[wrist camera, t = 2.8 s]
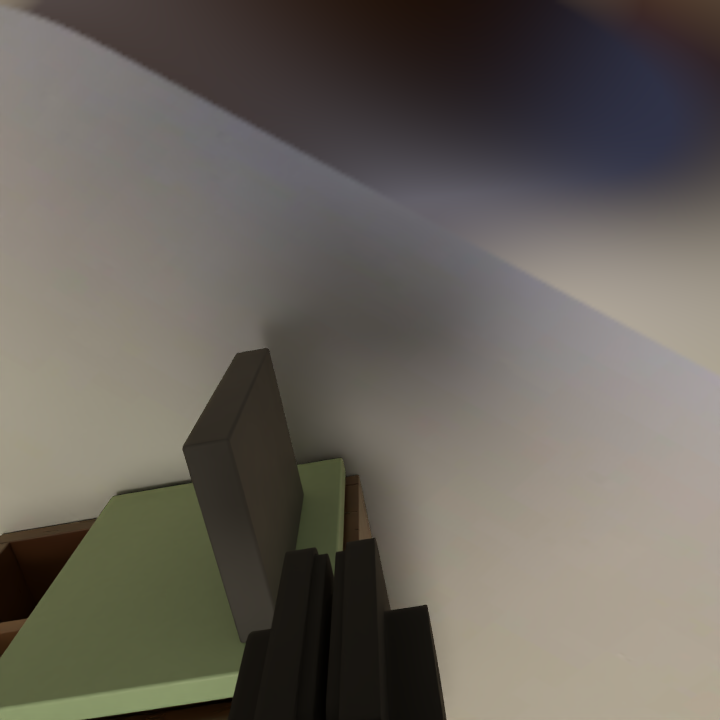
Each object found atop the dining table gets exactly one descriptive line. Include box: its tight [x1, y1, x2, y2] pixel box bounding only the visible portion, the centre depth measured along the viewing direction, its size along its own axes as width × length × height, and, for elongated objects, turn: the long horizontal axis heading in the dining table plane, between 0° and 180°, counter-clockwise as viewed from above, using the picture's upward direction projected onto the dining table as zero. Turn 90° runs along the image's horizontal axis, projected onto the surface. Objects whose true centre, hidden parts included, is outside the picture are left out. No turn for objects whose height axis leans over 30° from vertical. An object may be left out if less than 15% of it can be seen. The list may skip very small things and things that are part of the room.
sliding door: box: [0, 348, 346, 720], centre depth 21 cm, size 7×10×11 cm
